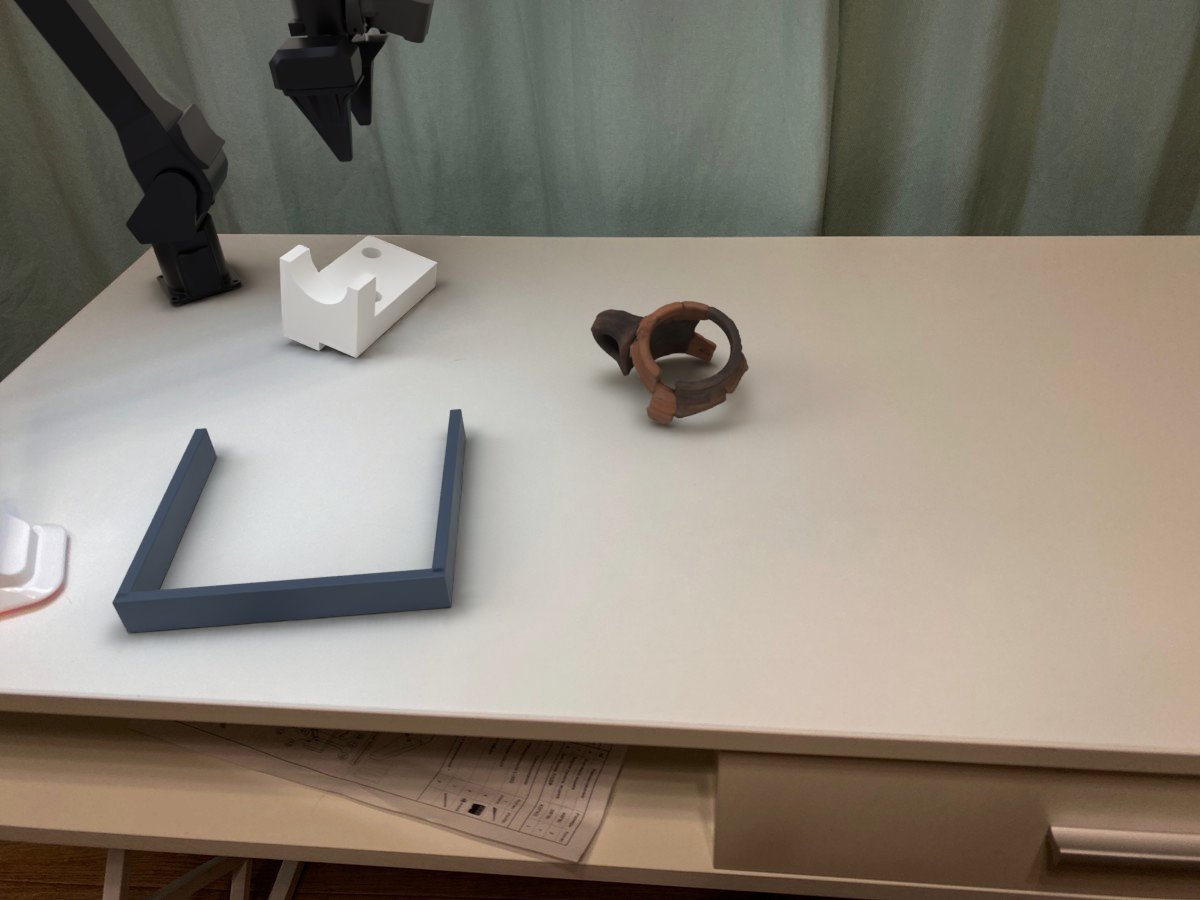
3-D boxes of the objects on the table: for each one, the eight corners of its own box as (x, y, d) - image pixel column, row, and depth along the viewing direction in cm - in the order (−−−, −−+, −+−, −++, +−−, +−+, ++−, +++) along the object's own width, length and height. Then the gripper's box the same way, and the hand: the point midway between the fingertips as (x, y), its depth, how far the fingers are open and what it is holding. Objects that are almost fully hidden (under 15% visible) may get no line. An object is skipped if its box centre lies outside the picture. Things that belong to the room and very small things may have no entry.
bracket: (356, 367, 78) (357, 290, 73) (282, 335, 79) (279, 258, 74) (434, 295, 87) (440, 223, 82) (367, 267, 88) (370, 195, 83)
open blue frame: (206, 456, 67) (195, 428, 66) (466, 436, 68) (461, 408, 66) (127, 633, 54) (111, 603, 53) (451, 607, 54) (444, 576, 53)
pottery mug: (748, 363, 74) (770, 309, 67) (711, 467, 71) (729, 422, 63) (606, 313, 76) (612, 254, 68) (563, 413, 72) (563, 362, 65)
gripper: (400, -40, 66) (435, 176, 75) (432, -82, 81) (458, 104, 90) (242, -31, 66) (296, 184, 76) (303, -74, 81) (342, 110, 90)
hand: (356, 142), depth 83 cm, fingers open, 9 cm apart
